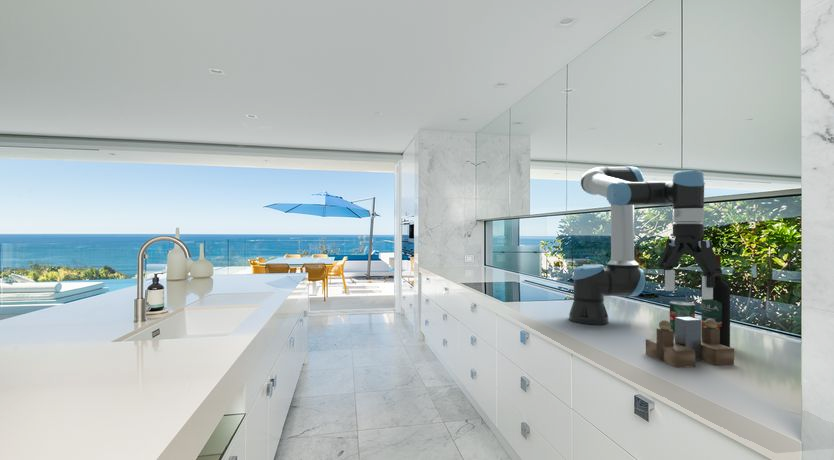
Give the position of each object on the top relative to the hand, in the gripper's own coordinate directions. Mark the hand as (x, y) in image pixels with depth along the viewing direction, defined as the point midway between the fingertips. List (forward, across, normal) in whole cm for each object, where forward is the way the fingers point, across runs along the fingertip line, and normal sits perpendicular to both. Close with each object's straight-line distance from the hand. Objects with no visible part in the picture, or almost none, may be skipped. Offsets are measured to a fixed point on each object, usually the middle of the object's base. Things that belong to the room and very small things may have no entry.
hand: (687, 294), depth 115 cm
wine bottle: (+19, -10, +20) cm, 30 cm away
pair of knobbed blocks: (+19, 0, 0) cm, 19 cm away
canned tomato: (+20, -26, +22) cm, 40 cm away
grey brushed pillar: (+19, 0, 0) cm, 19 cm away
